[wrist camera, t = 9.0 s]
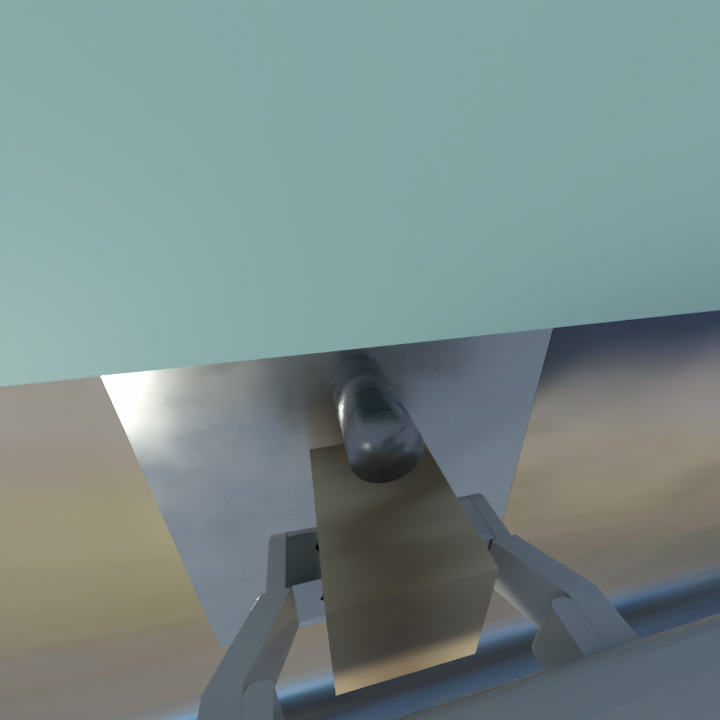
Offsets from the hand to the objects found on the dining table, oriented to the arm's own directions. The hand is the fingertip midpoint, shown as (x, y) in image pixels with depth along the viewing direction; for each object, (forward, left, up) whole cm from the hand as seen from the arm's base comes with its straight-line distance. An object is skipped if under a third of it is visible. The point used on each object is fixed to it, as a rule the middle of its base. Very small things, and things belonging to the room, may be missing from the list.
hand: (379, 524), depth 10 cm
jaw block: (0, 0, -2) cm, 2 cm away
